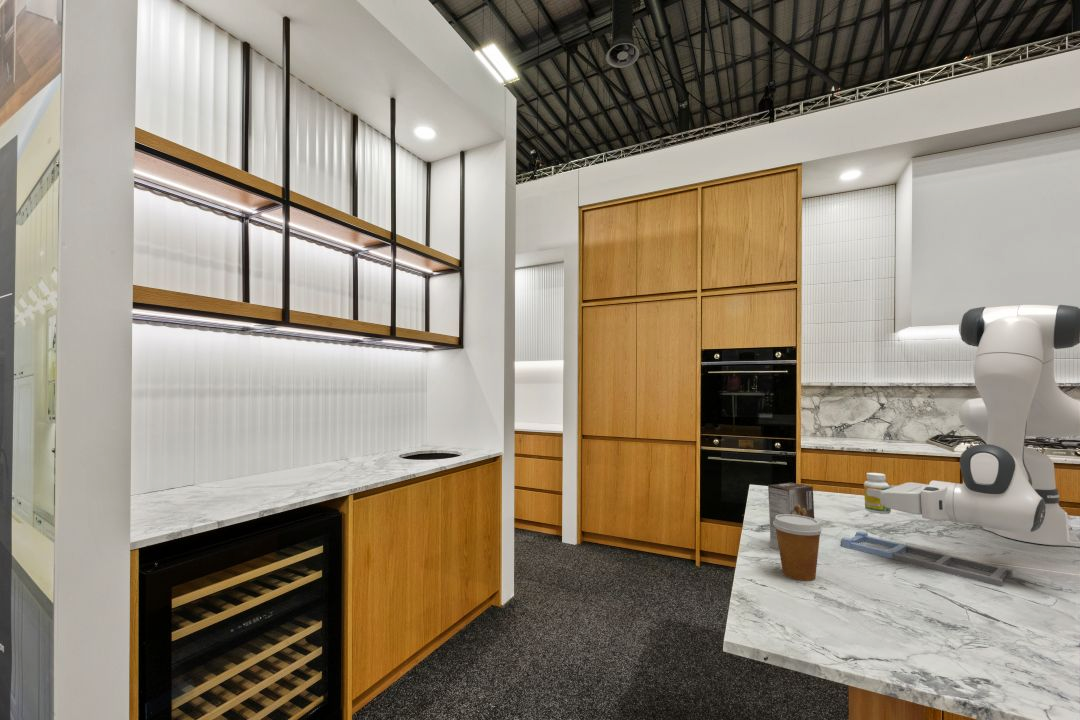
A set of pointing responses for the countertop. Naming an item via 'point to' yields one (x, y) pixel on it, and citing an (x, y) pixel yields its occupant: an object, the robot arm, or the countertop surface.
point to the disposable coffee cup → (798, 545)
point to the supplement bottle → (877, 483)
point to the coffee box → (789, 504)
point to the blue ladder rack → (938, 565)
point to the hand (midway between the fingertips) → (872, 489)
